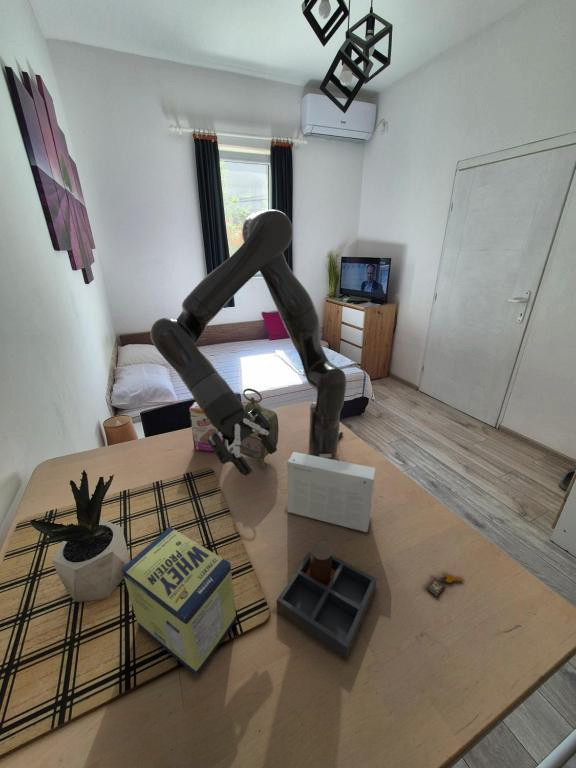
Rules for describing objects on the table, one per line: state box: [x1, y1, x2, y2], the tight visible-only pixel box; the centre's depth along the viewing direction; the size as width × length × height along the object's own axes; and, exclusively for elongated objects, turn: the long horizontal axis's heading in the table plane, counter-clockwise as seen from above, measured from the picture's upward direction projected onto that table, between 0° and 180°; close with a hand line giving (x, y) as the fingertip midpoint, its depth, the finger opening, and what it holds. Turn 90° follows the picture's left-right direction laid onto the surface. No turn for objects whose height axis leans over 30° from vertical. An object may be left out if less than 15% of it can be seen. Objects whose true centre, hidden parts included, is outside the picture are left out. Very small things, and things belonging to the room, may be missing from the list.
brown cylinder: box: [310, 540, 334, 586], centre depth 67 cm, size 4×4×8 cm
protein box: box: [121, 526, 238, 677], centre depth 57 cm, size 10×16×16 cm
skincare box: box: [286, 451, 377, 533], centre depth 82 cm, size 21×5×16 cm, turn 71°
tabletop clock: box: [240, 387, 280, 469], centre depth 102 cm, size 14×9×25 cm, turn 58°
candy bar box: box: [188, 401, 227, 452], centre depth 109 cm, size 11×5×16 cm, turn 84°
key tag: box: [426, 573, 463, 597], centre depth 68 cm, size 8×3×1 cm, turn 116°
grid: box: [276, 549, 378, 660], centre depth 64 cm, size 14×14×4 cm
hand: (262, 462), depth 67 cm, fingers open, 8 cm apart
